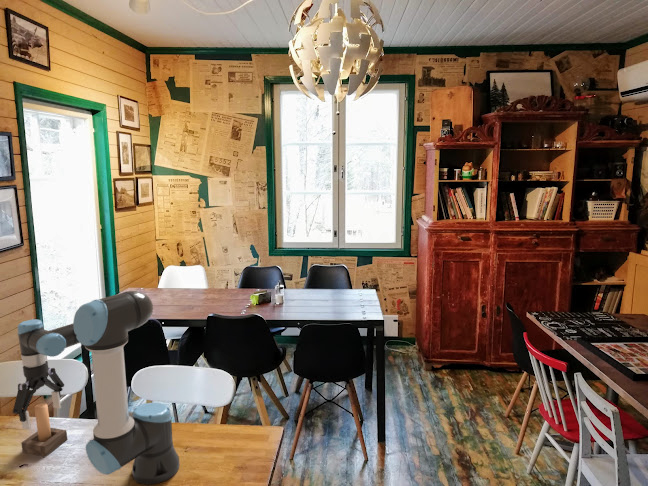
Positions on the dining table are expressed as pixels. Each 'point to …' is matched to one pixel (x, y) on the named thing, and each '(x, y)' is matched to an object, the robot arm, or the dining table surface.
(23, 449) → the socket block
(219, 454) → the dining table surface
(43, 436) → the peg
